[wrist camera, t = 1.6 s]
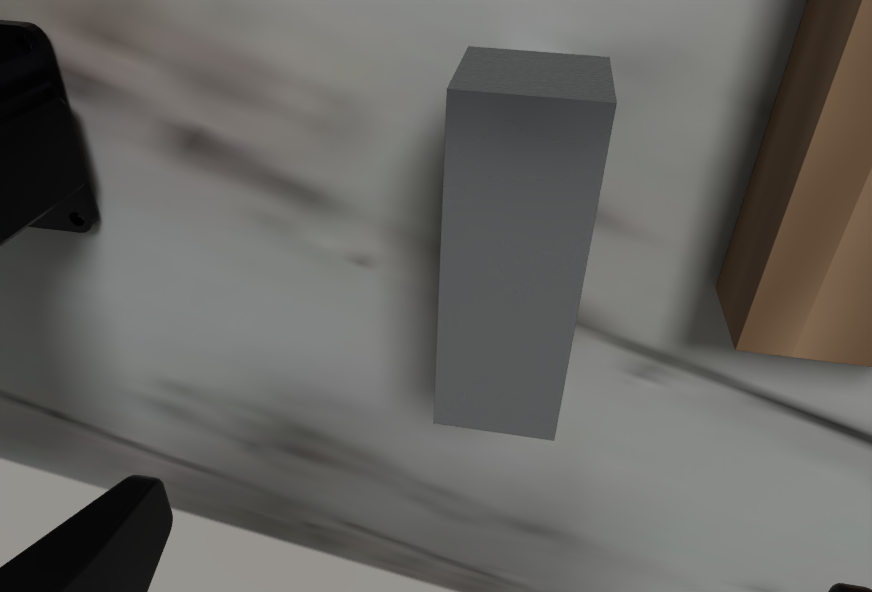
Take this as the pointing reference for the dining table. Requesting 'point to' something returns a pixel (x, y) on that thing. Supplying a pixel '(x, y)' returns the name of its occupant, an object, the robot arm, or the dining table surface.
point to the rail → (810, 202)
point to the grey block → (516, 232)
